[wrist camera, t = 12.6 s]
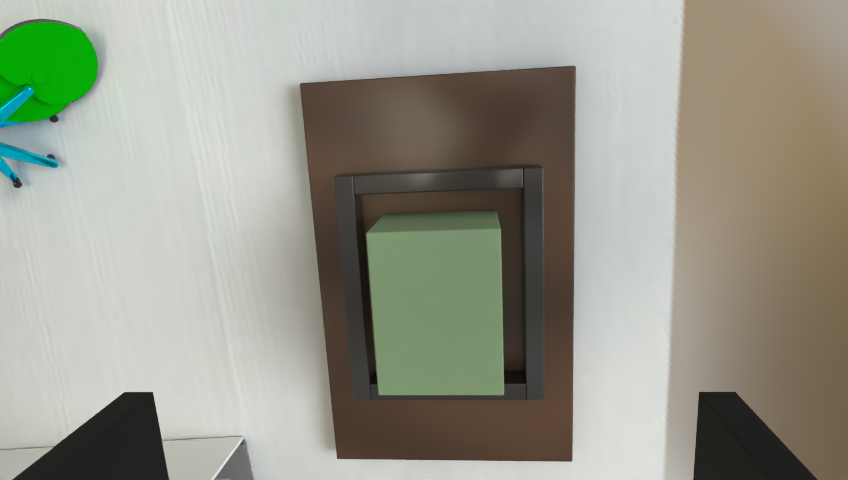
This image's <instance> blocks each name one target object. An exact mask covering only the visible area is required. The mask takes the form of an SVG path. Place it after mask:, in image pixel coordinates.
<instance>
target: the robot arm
mask: <svg viewBox="0 0 848 480" xmlns="http://www.w3.org/2000/svg"><path fill="white" fill-rule="evenodd" d="M12 480H169V476H168V470H167V465H166V460H165V454H164V449H163V444H162V439H161V433H160V428H159V423H158V417H157V412H156V407H155V401H154V396H153V392H124V393H123V394H122V395H120V396H119V397H118V398H116V399H115V400H114V401H113V402H111V403H110V404H109V405H107V406H106V407H105V408H104V409H102V410H101V411H100V412H98V413H97V414H96V415H95V416H93V417H92V418H91V419H89V420H88V421H87V422H86V423H84V424H83V425H82V426H80V427H79V428H78V429H77V430H75V431H74V432H73V433H71V434H70V435H69V436H68V437H66V438H65V439H64V440H62V441H61V442H60V443H59V444H57V445H56V446H55V447H53V448H52V449H51V450H50V451H48V452H47V453H46V454H44V455H43V456H42V457H41V458H39V459H38V460H37V461H35V462H34V463H33V464H32V465H30V466H29V467H28V468H26V469H25V470H24V471H23V472H21V473H20V474H19V475H17V476H16V477H15V478H14V479H12ZM693 480H817V479H816V478H815V477H814V476H813V475H812V473H811V472H809V470H808V469H807V468H806V467H805V466H804V465H803V464H802V463H801V462H800V461H799V460H798V459H797V457H796V456H795V455H794V454H793V453H792V452H791V451H790V450H789V449H788V448H787V447H786V446H785V445H784V444H783V442H782V441H781V440H780V439H779V438H778V437H777V436H776V435H775V434H774V433H773V432H772V431H771V430H770V429H769V428H768V426H767V425H766V424H765V423H764V422H763V421H762V420H761V419H760V418H759V417H758V416H757V415H756V414H755V413H754V412H753V410H752V409H751V408H750V407H749V406H748V405H747V404H746V403H745V402H744V401H743V400H742V399H741V398H740V397H739V396H738V394H737V393H736V392H699V402H698V419H697V433H696V448H695V463H694V478H693Z"/></svg>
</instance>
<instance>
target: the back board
mask: <svg viewBox="0 0 848 480" xmlns="http://www.w3.org/2000/svg"><path fill="white" fill-rule="evenodd" d="M575 85H576V67H575V66H564V67H549V68H533V69H517V70H502V71H486V72H470V73H455V74H439V75H423V76H408V77H392V78H376V79H361V80H345V81H329V82H314V83H301V84H300V89H301V99H302V109H303V119H304V129H305V139H306V149H307V159H308V169H309V179H310V189H311V199H312V210H313V220H314V230H315V240H316V250H317V260H318V270H319V280H320V290H321V300H322V310H323V320H324V331H325V341H326V351H327V361H328V371H329V381H330V391H331V401H332V411H333V421H334V431H335V442H336V452H337V459H396V460H483V461H569V462H571V461H572V438H573V320H574V203H575ZM486 210H495V211H496V212H497V216H498V220H499V224H500V228H501V260H502V309H503V358H504V395H379V394H378V385H377V372H376V359H375V346H374V332H373V319H372V306H371V293H370V280H369V267H368V254H367V241H366V233H367V232H368V231H369V230H370V229H371V228H372V227H373V226H374V225H375V224H376V223H377V222H378V221H379V220H380V219H381V217H382V216H383V215H385V214H401V213H429V212H457V211H486Z"/></svg>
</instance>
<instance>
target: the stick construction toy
mask: <svg viewBox="0 0 848 480" xmlns="http://www.w3.org/2000/svg"><path fill="white" fill-rule="evenodd" d="M97 71H98V62H97V56H96V53H95V50H94V47H93V45H92V43H91V42H90V40H89V39H88V37H87V36H86V34H85V33H84V32H83V31H82V29H81V28H79V27H76V26H74V25H72V24H69V23H65V22H62V21H57V20H49V19H35V20H28V21H24V22H20V23H18V24H15V25H13V26H11V27H10V28H8V29H7V30H5V31H4V32H3V33H2V34H1V35H0V128H3V127H8V126H13V125H18V124H23V123H28V122H33V121H38V120H43V119H48V118H49V119H50V121H51V122H57V121H58V117H57V116H56V114H57V113H59V112H60V111H62V110H63V109H64V108H65V107H66V106H67V105H68V104H69V103H70V102H73V101H75V100H77V99H79V98H81V97H82V96H84V95H85V94H86V93H87V92H88V91H89V90H90V89H91V87H92V86H93V84H94V82H95V79H96V76H97ZM1 156H3V157H7V158H11V159H16V160H20V161H25V162H29V163H34V164H38V165H43V166H47V167H52V168H57V167H58V165H59V164H58V162H57V160H56V158H55V157H54V155H48V156H47V157H45V156H41V155H38V154H35V153H32V152H29V151H26V150H23V149H20V148H16V147H13V146H10V145H7V144H4V143H1V142H0V171H1V172H2V173H3V174H5V175H6V176H7V177H8V178H9V179H10V180H11V181H12V183H13V185H14V187H16V188H20V187H21V186H22V183H21V181H20V179H19V176H18V175H17V174H16V173H15V172H14V170H13V169H12V168H11V167H10V166H9V165H8V164H7V162H6V161H5V160H4V159H3V158H2V157H1Z"/></svg>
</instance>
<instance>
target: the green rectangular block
mask: <svg viewBox="0 0 848 480" xmlns="http://www.w3.org/2000/svg"><path fill="white" fill-rule="evenodd" d="M366 241H367V254H368V267H369V280H370V293H371V306H372V319H373V332H374V346H375V359H376V372H377V385H378V394H379V395H504V358H503V309H502V260H501V228H500V224H499V220H498V216H497V212H496V211H495V210H486V211H457V212H429V213H401V214H385V215H383V216H382V217H381V219H380V220H379V221H378V222H377V223H376V224H375V225H374V226H373V227H372V228H371V229H370V230H369V231H368V232H367V233H366Z"/></svg>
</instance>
